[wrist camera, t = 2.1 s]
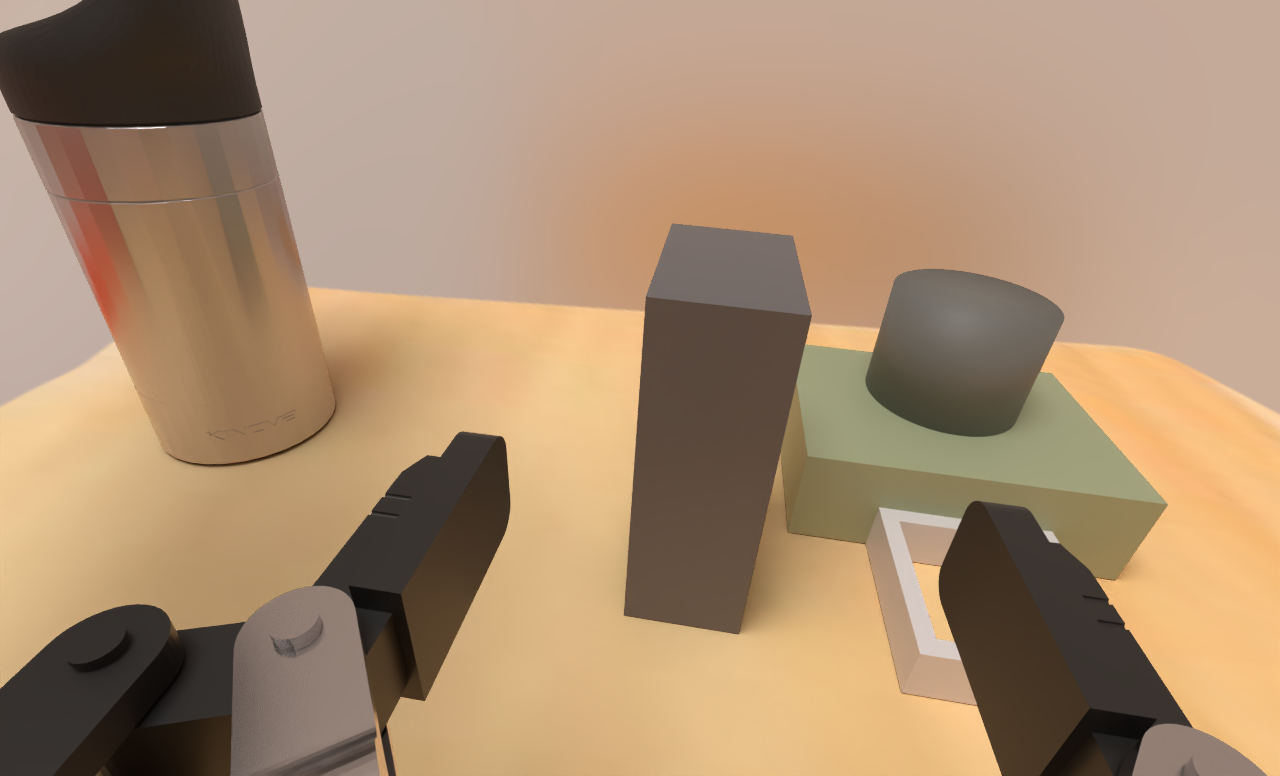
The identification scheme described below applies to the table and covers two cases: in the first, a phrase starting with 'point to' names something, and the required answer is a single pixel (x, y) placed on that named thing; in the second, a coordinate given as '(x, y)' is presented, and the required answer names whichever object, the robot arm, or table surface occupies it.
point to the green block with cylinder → (952, 450)
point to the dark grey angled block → (711, 419)
